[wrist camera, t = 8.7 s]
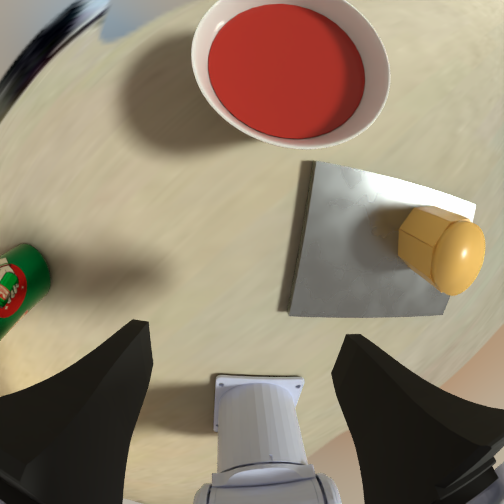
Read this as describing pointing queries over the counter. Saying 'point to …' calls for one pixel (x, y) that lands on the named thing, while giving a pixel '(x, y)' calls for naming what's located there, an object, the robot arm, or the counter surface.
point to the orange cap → (442, 248)
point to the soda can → (21, 284)
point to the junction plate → (362, 247)
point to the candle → (291, 70)
